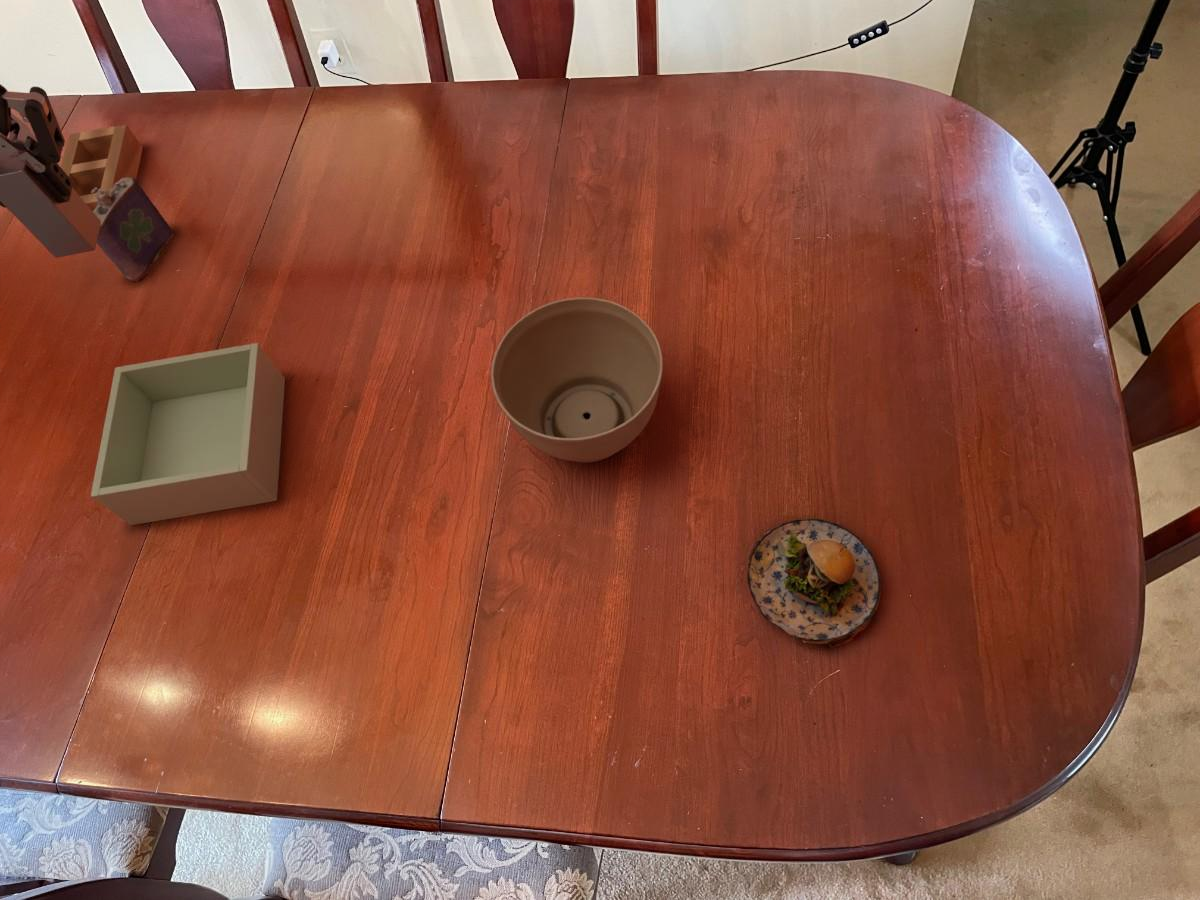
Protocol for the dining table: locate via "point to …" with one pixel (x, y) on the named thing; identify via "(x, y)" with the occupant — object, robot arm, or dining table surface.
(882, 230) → the dining table surface
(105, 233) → the flask
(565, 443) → the planter bowl
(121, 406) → the tub
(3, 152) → the robot arm
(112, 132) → the rack
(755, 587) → the burger
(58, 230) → the grey rectangular block
